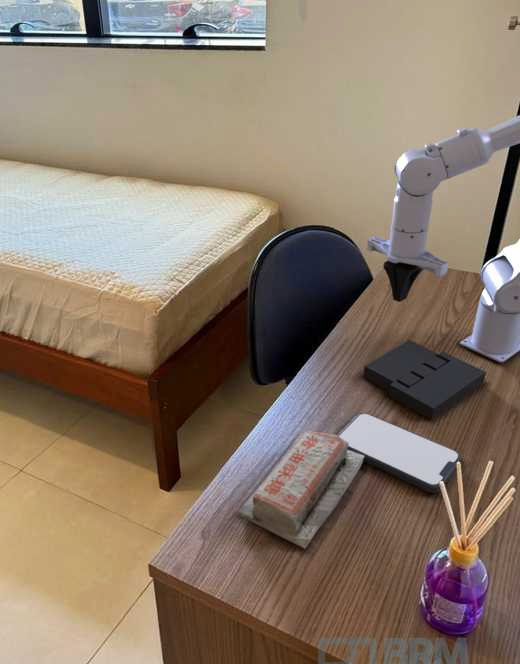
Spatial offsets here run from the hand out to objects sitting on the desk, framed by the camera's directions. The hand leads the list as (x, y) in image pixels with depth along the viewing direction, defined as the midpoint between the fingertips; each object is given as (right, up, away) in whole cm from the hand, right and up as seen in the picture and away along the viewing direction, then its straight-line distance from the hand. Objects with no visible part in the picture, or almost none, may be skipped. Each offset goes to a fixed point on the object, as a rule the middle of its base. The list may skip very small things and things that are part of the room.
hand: (399, 298), depth 106 cm
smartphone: (-7, -24, -18) cm, 31 cm away
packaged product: (-21, -28, -23) cm, 42 cm away
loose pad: (0, -13, -3) cm, 13 cm away
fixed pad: (+4, -15, -7) cm, 17 cm away
